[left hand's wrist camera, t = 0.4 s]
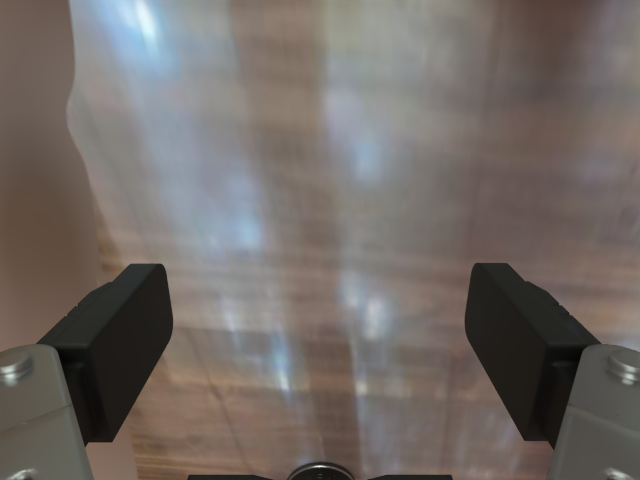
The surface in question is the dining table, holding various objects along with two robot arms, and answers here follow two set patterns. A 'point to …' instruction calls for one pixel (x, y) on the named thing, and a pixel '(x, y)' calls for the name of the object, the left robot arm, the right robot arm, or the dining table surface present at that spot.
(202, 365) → the dining table surface
